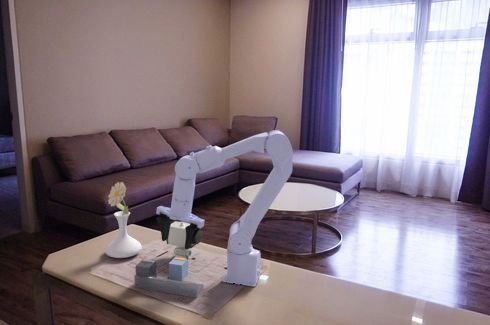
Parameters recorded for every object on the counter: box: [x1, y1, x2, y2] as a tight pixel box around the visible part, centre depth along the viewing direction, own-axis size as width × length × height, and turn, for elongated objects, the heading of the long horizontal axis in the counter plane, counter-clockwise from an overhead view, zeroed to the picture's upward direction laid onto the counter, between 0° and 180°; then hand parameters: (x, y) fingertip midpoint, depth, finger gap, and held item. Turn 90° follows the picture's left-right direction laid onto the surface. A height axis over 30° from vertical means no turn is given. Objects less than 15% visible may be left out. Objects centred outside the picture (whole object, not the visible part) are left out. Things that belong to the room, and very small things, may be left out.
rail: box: [134, 258, 205, 298], centre depth 97 cm, size 18×5×6 cm, turn 76°
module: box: [168, 256, 189, 281], centre depth 103 cm, size 4×4×5 cm
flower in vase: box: [104, 181, 143, 259], centre depth 114 cm, size 13×11×25 cm
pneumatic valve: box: [165, 220, 203, 259], centre depth 115 cm, size 6×12×12 cm, turn 70°
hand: (176, 243), depth 101 cm, fingers open, 7 cm apart
